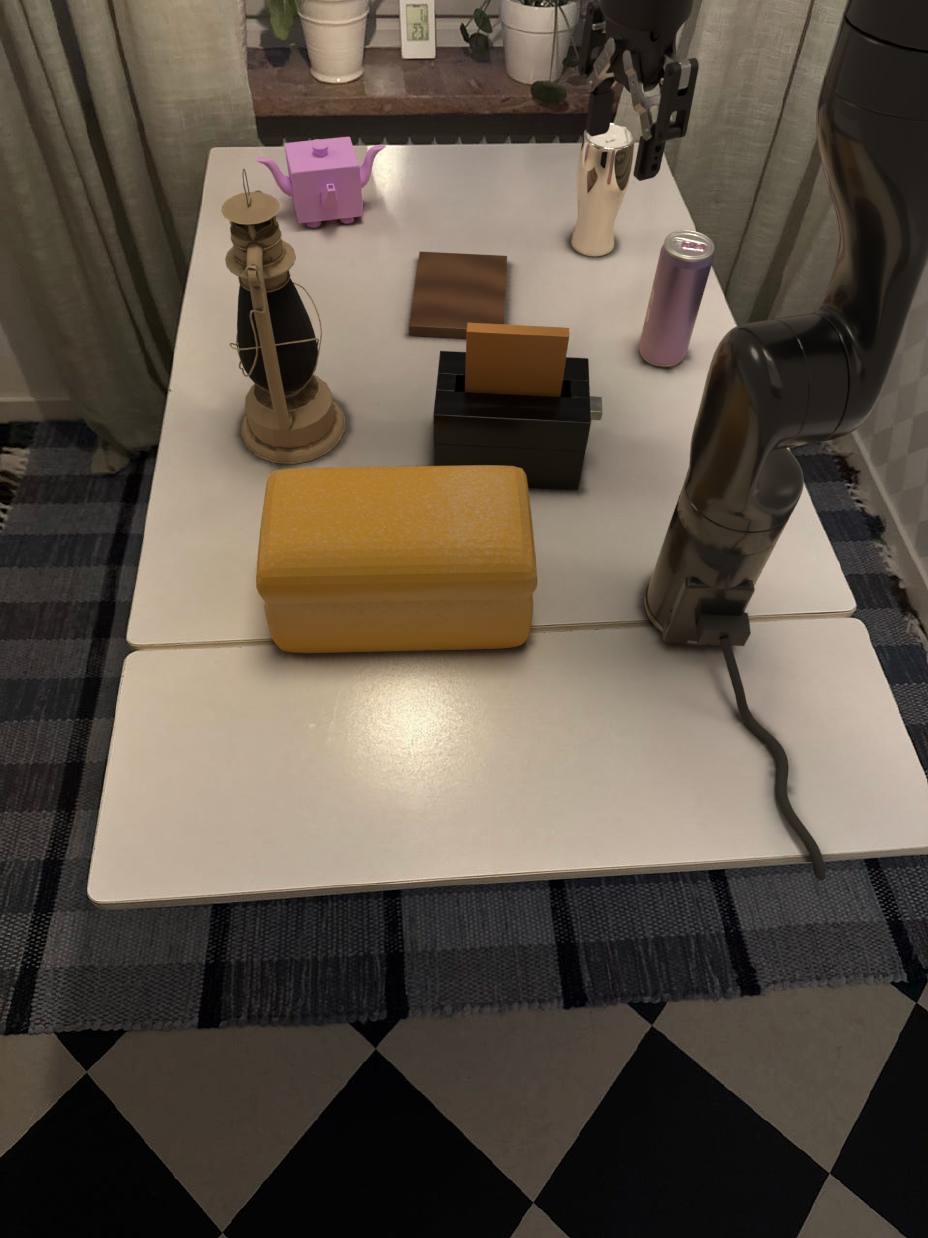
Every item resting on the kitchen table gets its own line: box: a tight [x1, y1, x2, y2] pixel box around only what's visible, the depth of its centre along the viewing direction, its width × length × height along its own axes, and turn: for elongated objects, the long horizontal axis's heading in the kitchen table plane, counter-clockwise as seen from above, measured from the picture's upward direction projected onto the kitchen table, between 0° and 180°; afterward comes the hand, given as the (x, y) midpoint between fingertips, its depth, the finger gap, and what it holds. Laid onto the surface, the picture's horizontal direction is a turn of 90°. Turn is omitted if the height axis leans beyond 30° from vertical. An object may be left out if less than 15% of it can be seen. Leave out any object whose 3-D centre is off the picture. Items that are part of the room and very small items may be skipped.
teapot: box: [254, 136, 387, 229], centre depth 119 cm, size 18×13×10 cm
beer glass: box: [570, 122, 636, 257], centre depth 114 cm, size 7×7×15 cm
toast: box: [465, 323, 570, 397], centre depth 88 cm, size 1×10×11 cm, turn 87°
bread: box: [255, 465, 538, 654], centre depth 80 cm, size 24×13×15 cm, turn 92°
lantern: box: [220, 168, 346, 465], centre depth 87 cm, size 14×12×30 cm
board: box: [408, 251, 508, 339], centre depth 112 cm, size 16×12×2 cm
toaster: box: [432, 350, 604, 491], centre depth 93 cm, size 10×18×10 cm, turn 87°
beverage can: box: [638, 229, 716, 368], centre depth 101 cm, size 6×6×15 cm
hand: (620, 154), depth 80 cm, fingers open, 8 cm apart
